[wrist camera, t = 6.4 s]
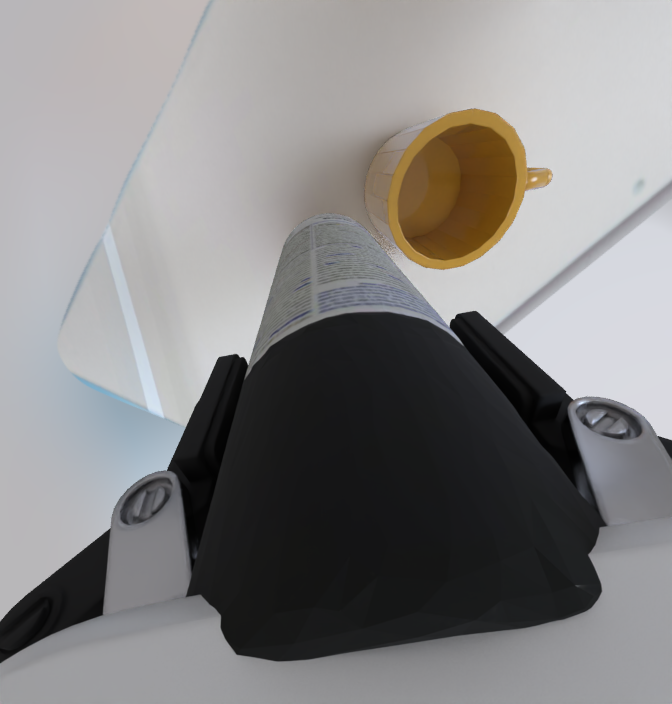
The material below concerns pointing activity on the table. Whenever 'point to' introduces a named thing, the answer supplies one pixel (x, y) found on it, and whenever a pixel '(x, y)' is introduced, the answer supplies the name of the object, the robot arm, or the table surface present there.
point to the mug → (449, 187)
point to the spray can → (380, 475)
